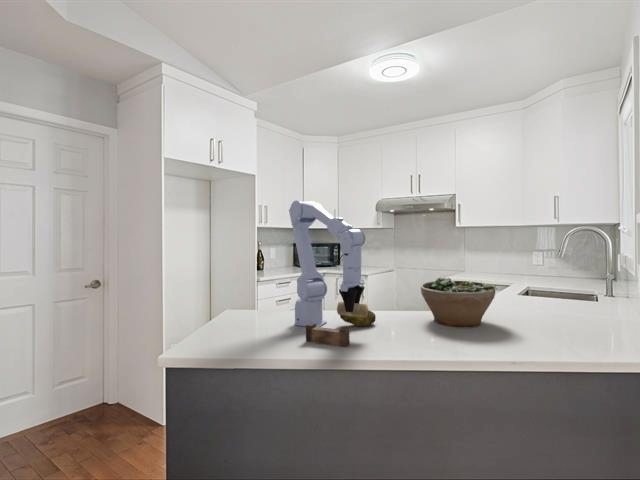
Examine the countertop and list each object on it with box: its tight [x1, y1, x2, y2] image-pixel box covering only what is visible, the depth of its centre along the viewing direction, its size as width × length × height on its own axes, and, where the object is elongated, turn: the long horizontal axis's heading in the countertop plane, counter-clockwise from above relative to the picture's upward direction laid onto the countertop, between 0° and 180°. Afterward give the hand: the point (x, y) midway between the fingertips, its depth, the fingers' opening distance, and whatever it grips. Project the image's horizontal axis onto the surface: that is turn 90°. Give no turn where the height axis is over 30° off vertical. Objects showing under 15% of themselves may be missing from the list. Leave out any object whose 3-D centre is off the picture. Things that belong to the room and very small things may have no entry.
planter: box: [420, 277, 499, 329], centre depth 134 cm, size 26×25×15 cm
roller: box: [336, 301, 369, 317], centre depth 118 cm, size 9×4×4 cm, turn 65°
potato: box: [339, 309, 376, 327], centre depth 131 cm, size 8×13×8 cm, turn 82°
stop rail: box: [305, 323, 350, 348], centre depth 111 cm, size 13×3×5 cm, turn 65°
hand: (351, 310), depth 118 cm, fingers closed on roller, 4 cm apart
